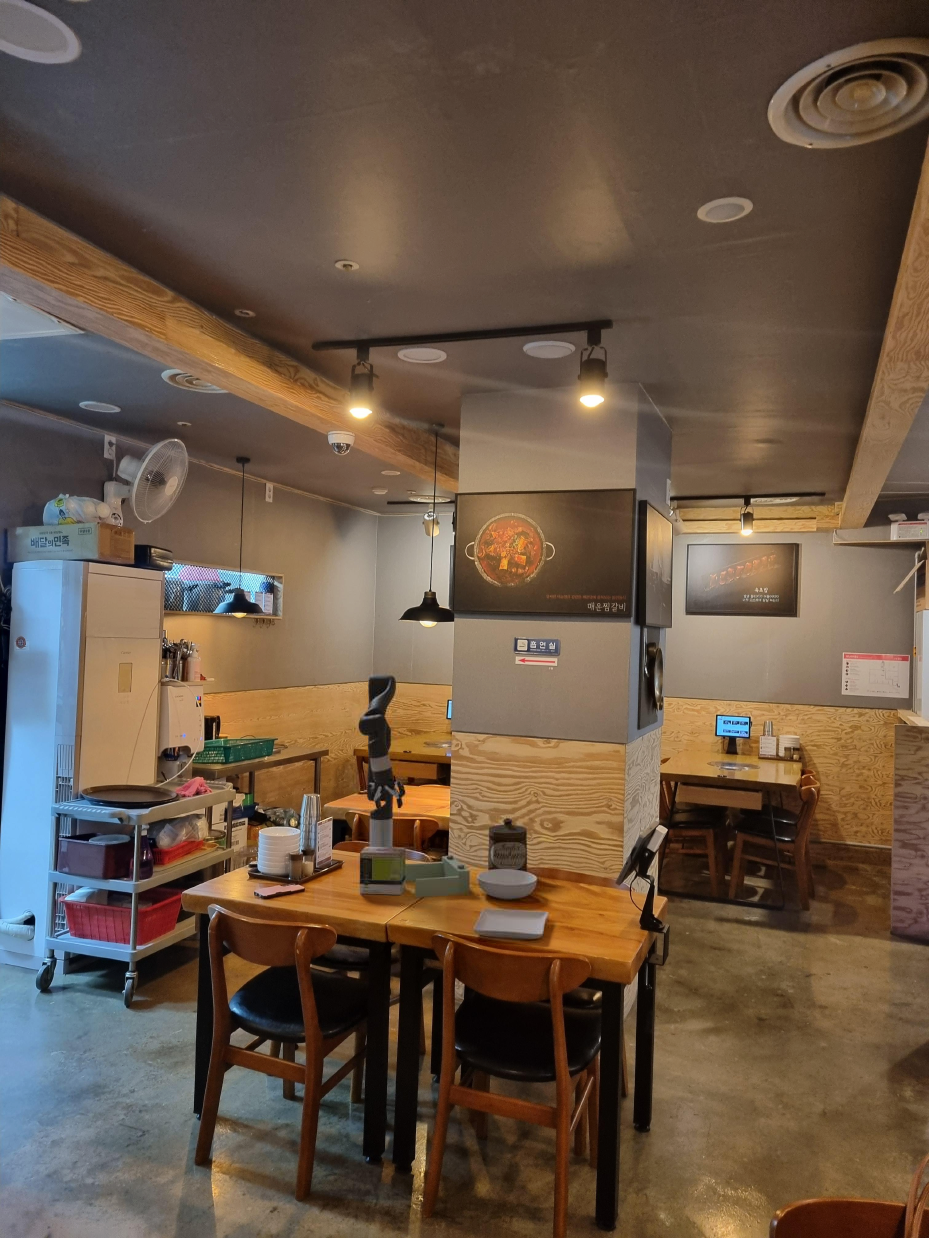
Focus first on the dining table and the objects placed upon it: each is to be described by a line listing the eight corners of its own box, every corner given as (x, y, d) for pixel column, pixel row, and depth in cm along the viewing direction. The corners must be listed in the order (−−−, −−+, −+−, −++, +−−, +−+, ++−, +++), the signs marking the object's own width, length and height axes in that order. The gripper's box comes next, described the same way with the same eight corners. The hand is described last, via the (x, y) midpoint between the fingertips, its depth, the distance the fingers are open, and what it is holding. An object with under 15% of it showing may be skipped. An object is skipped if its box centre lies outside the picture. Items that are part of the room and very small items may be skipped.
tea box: (405, 887, 307) (406, 846, 307) (400, 895, 297) (401, 853, 297) (364, 886, 308) (365, 845, 309) (358, 894, 298) (359, 851, 299)
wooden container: (490, 881, 316) (491, 822, 317) (486, 871, 331) (486, 814, 332) (529, 881, 317) (530, 822, 318) (523, 870, 332) (524, 814, 333)
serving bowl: (533, 906, 286) (533, 886, 287) (472, 902, 290) (472, 882, 291) (540, 889, 307) (540, 870, 307) (483, 885, 311) (483, 866, 311)
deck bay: (401, 880, 316) (401, 856, 316) (451, 877, 322) (452, 853, 322) (415, 897, 295) (416, 871, 295) (469, 893, 301) (469, 867, 301)
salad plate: (472, 939, 254) (472, 928, 254) (483, 917, 275) (483, 906, 275) (542, 945, 251) (542, 933, 251) (548, 922, 271) (548, 911, 272)
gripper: (402, 762, 320) (410, 803, 322) (368, 765, 325) (377, 806, 327) (394, 768, 313) (403, 810, 315) (360, 771, 318) (368, 813, 320)
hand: (389, 808), depth 321 cm, fingers open, 8 cm apart
